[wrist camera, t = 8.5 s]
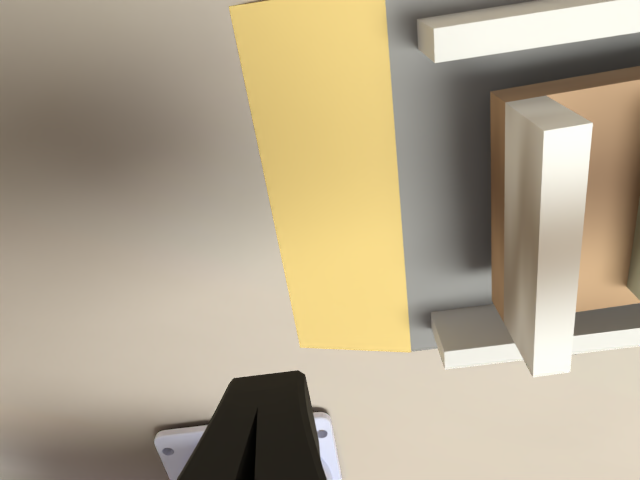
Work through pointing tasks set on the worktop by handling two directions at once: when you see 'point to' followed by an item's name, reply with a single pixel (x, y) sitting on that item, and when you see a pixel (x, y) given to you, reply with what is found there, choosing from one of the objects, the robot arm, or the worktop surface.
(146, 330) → the worktop surface
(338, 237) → the loading dock
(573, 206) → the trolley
